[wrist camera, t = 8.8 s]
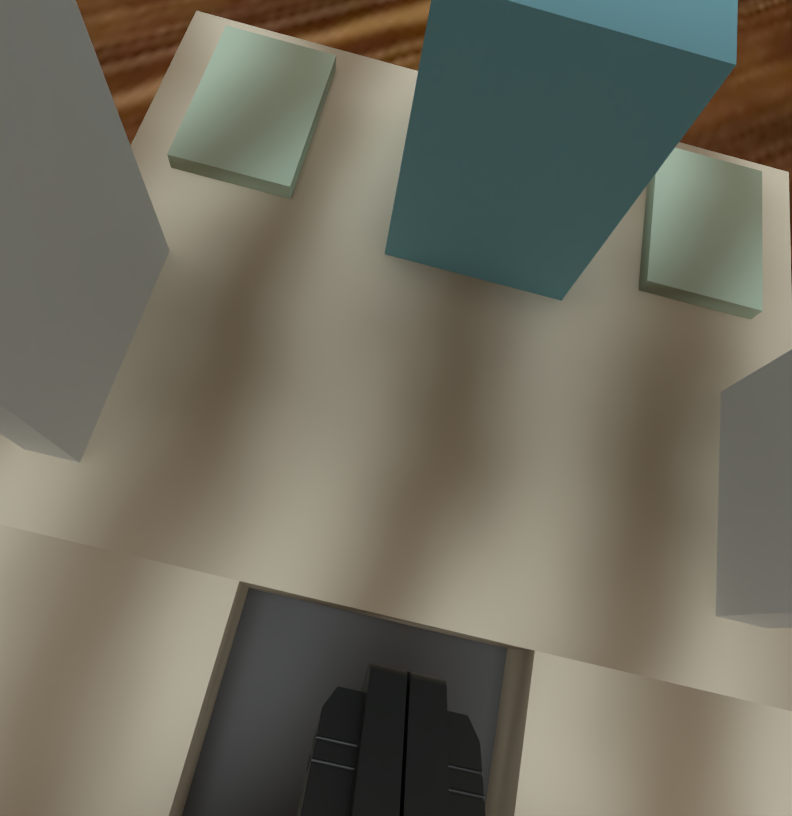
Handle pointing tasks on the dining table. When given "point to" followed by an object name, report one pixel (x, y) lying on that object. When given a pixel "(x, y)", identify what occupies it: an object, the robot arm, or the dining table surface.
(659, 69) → the teal block
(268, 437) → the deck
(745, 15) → the dining table surface
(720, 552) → the tunnel
